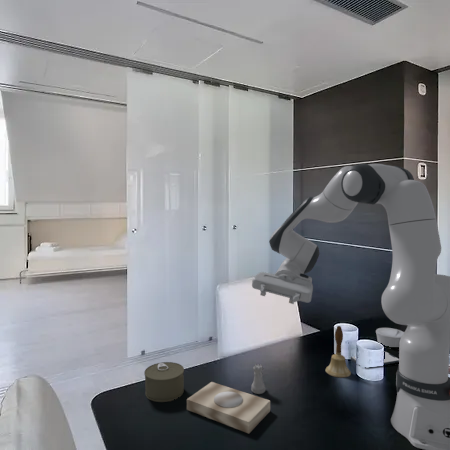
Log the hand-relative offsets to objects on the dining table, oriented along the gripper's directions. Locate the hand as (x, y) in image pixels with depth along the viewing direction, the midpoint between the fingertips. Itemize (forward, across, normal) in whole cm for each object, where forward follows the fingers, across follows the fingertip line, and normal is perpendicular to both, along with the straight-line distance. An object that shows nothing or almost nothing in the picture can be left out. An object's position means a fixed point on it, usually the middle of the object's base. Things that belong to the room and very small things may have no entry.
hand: (276, 297), depth 116 cm
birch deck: (+27, -4, +23) cm, 36 cm away
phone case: (-21, +35, +28) cm, 50 cm away
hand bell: (-8, +23, +27) cm, 36 cm away
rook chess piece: (+14, +1, +26) cm, 29 cm away
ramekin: (-40, +42, +31) cm, 66 cm away
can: (+25, -26, +28) cm, 45 cm away
